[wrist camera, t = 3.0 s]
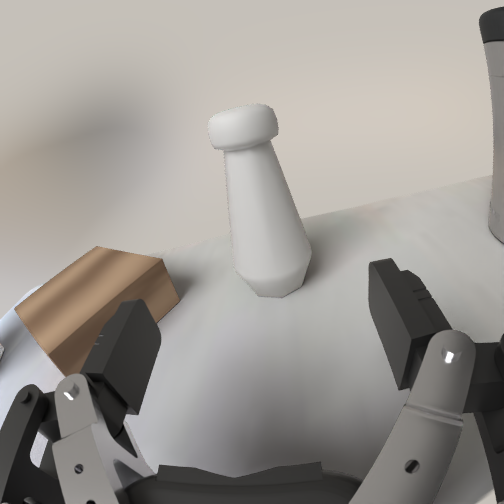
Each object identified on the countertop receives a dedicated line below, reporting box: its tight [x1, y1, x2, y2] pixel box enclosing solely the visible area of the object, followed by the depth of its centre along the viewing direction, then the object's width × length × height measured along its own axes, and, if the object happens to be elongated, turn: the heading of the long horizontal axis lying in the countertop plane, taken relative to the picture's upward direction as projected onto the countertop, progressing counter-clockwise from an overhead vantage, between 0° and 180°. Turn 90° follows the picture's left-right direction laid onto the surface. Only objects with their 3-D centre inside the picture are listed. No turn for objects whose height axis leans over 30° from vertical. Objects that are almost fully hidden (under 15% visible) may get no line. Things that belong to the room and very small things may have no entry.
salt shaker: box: [208, 104, 312, 298], centre depth 20 cm, size 6×6×13 cm
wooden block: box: [14, 246, 180, 377], centre depth 22 cm, size 11×11×4 cm
